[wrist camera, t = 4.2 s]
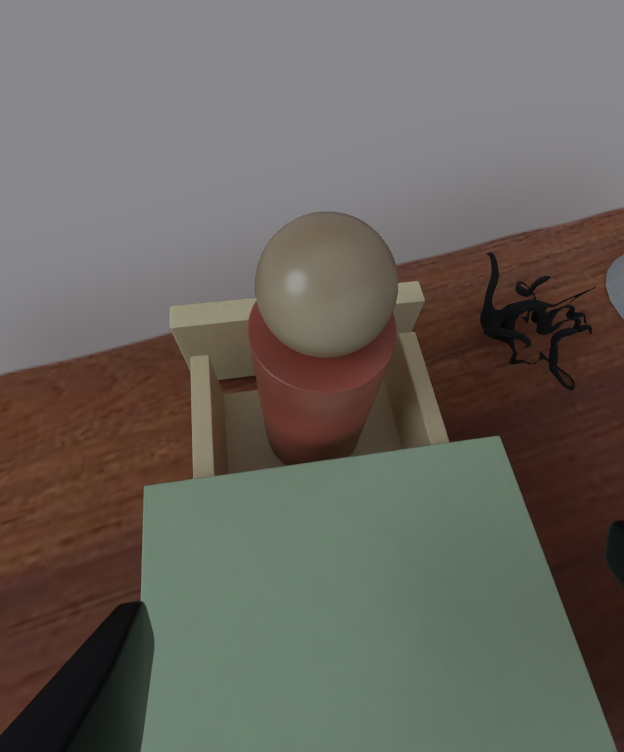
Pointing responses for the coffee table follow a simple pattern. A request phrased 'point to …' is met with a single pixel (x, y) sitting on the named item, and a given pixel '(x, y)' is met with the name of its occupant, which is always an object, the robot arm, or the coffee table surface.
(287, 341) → the doll
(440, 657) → the cabinet
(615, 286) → the lava lamp
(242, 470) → the drawer
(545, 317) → the creature
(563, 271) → the coffee table surface
